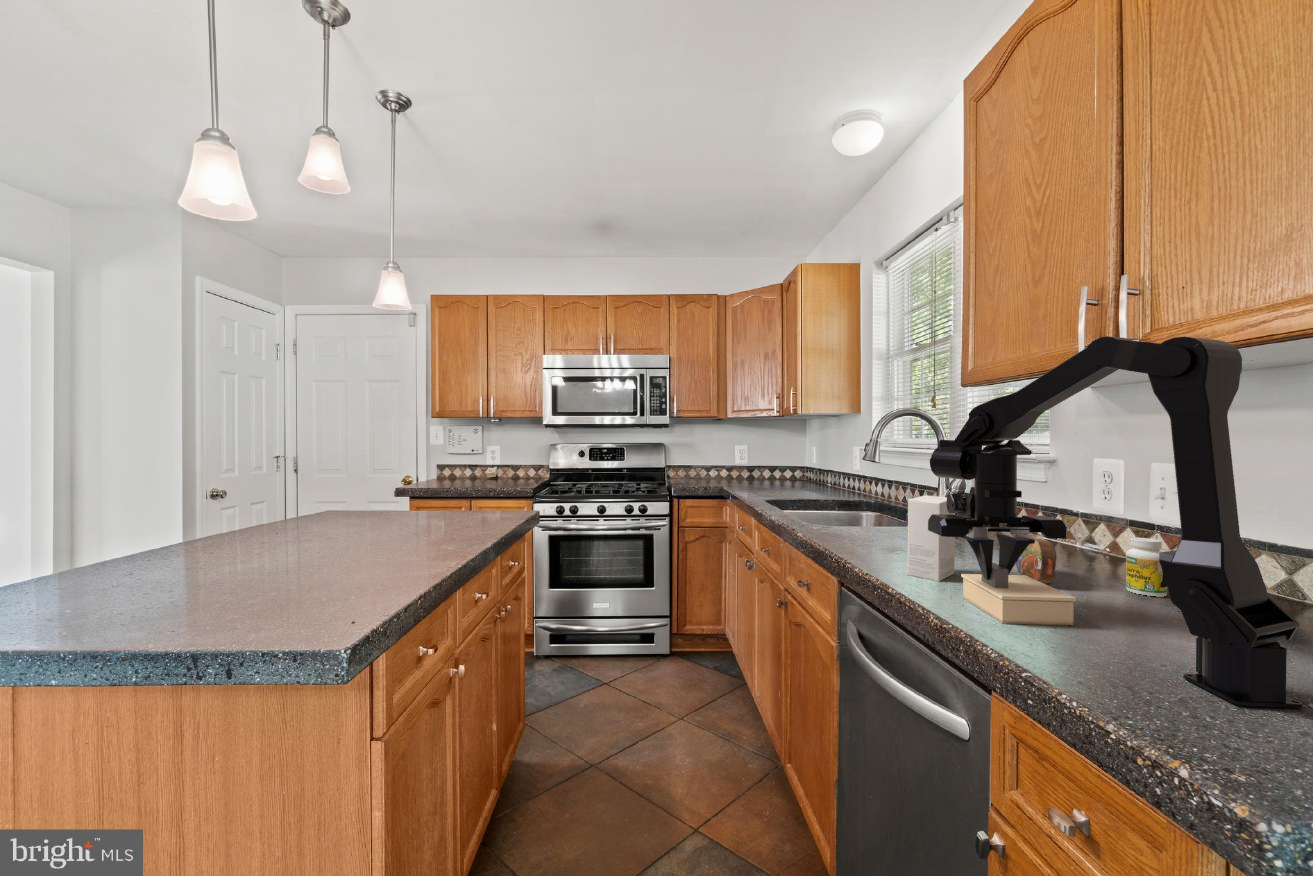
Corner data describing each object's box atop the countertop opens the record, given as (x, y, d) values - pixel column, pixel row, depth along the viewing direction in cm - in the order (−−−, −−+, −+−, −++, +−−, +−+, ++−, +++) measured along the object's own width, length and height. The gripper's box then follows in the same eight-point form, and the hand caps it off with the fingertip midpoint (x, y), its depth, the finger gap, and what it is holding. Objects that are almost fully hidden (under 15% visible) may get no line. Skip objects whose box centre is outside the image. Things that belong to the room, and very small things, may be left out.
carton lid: (1075, 601, 78) (1076, 577, 78) (1001, 599, 79) (1002, 576, 79) (1024, 578, 90) (1025, 557, 90) (961, 576, 91) (961, 556, 91)
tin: (1013, 569, 111) (1013, 529, 111) (1031, 570, 110) (1031, 530, 110) (1038, 589, 97) (1039, 543, 96) (1059, 590, 96) (1059, 544, 95)
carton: (1073, 625, 78) (1073, 602, 78) (1002, 623, 79) (1002, 600, 79) (1024, 600, 90) (1024, 579, 90) (963, 598, 91) (963, 578, 91)
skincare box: (923, 568, 111) (924, 494, 111) (957, 575, 106) (958, 497, 106) (905, 575, 106) (905, 498, 105) (940, 582, 101) (940, 501, 100)
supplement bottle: (1174, 596, 92) (1175, 541, 92) (1153, 599, 91) (1154, 543, 90) (1138, 587, 97) (1139, 535, 97) (1118, 590, 96) (1118, 537, 96)
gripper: (1025, 478, 92) (1025, 567, 92) (914, 478, 93) (914, 565, 94) (1070, 485, 81) (1069, 586, 81) (943, 484, 82) (942, 583, 83)
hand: (994, 579), depth 85 cm, fingers closed on carton lid, 2 cm apart
